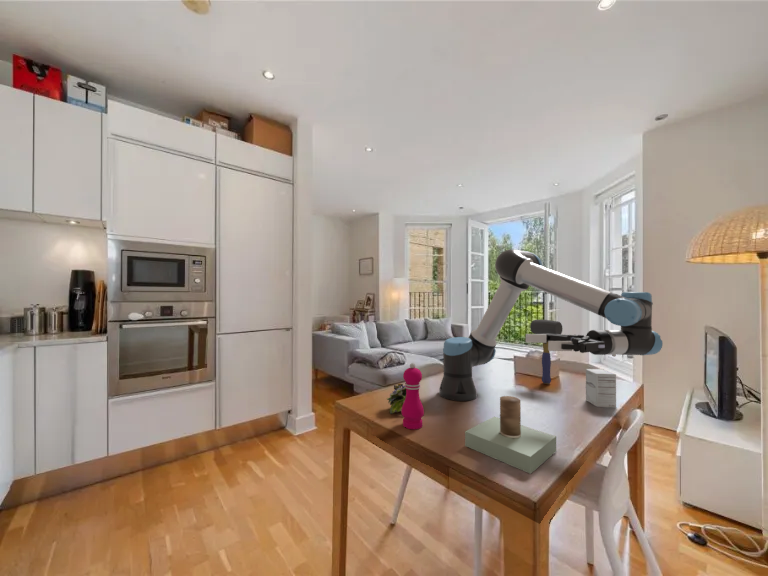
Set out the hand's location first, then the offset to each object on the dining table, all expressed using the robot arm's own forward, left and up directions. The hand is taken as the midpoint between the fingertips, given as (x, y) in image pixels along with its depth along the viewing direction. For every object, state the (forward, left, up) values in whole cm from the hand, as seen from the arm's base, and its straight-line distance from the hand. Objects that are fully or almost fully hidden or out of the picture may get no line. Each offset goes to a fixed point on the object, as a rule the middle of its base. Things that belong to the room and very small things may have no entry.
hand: (536, 341), depth 96 cm
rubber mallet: (-19, +57, -28) cm, 66 cm away
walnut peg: (-1, -15, -27) cm, 31 cm away
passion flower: (-40, -17, -28) cm, 52 cm away
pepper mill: (-29, -24, -28) cm, 47 cm away
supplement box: (+6, +44, -28) cm, 52 cm away
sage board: (-1, -15, -28) cm, 32 cm away
